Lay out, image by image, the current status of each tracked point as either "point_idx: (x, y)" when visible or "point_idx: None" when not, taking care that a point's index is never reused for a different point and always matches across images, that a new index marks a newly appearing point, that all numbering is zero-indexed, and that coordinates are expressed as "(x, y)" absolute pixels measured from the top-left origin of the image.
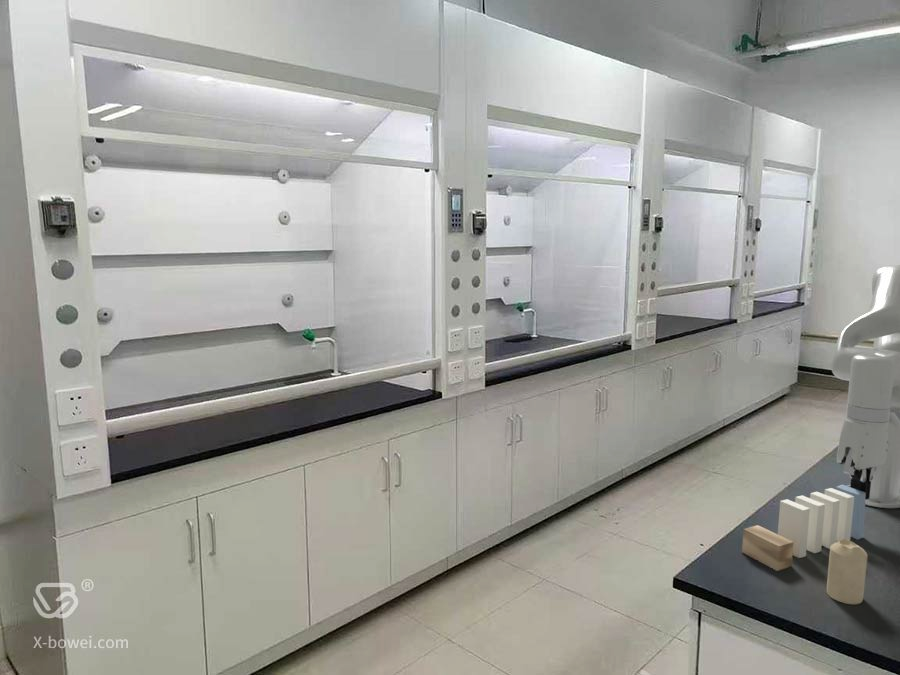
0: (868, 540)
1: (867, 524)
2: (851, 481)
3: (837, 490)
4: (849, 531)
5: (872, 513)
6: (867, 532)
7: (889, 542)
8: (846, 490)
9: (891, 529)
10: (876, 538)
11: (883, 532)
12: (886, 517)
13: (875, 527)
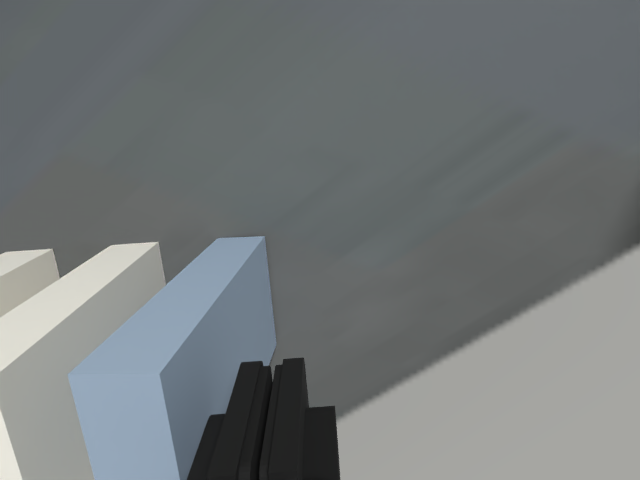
0: (273, 365)
1: (434, 255)
2: (217, 449)
3: (3, 441)
4: None
5: (601, 171)
6: (346, 312)
7: (342, 406)
8: (94, 462)
9: (484, 332)
10: (325, 365)
11: (416, 338)
12: (612, 234)
13: (436, 291)
